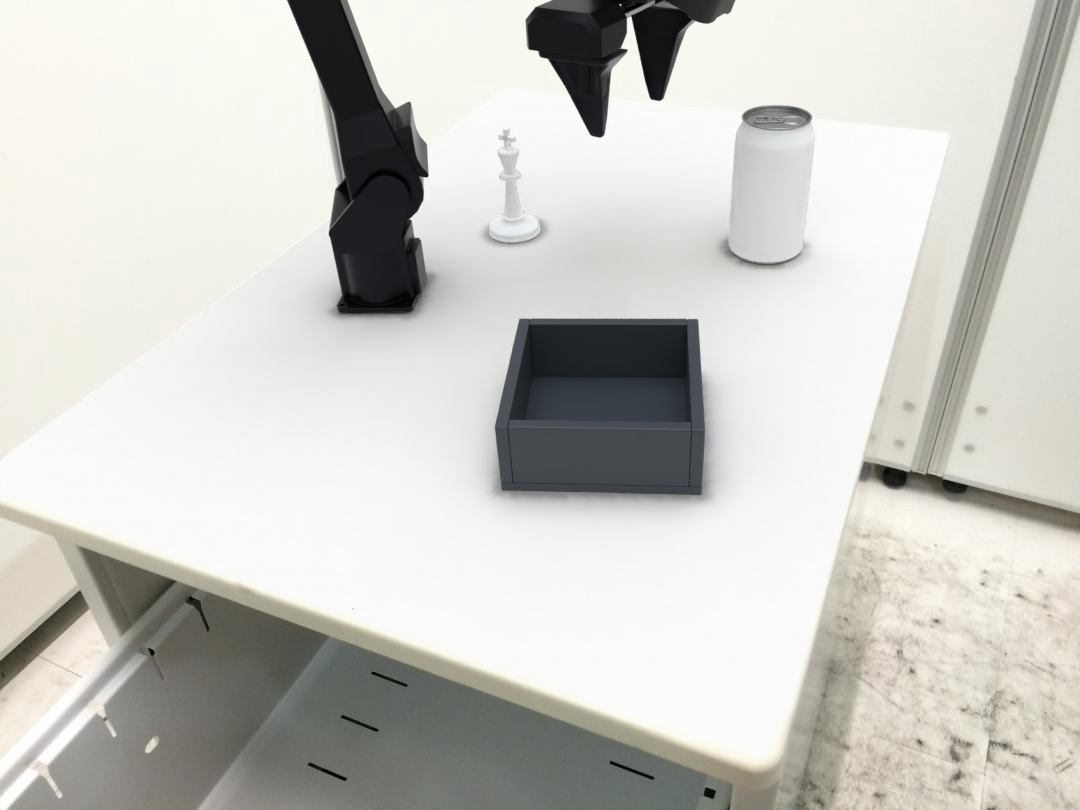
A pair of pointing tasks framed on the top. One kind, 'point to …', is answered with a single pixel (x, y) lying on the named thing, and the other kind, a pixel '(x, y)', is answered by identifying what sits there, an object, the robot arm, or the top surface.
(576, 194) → the top surface
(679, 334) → the dark grey storage bin
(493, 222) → the chess piece
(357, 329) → the top surface
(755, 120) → the can
